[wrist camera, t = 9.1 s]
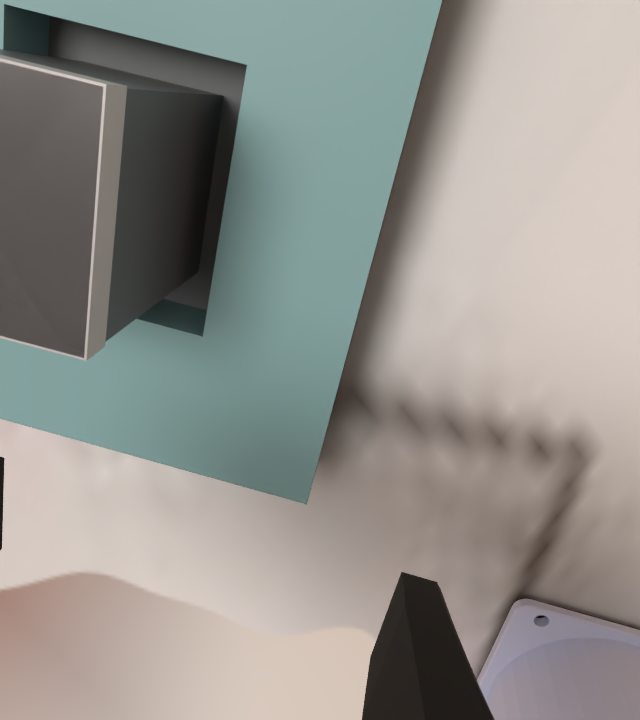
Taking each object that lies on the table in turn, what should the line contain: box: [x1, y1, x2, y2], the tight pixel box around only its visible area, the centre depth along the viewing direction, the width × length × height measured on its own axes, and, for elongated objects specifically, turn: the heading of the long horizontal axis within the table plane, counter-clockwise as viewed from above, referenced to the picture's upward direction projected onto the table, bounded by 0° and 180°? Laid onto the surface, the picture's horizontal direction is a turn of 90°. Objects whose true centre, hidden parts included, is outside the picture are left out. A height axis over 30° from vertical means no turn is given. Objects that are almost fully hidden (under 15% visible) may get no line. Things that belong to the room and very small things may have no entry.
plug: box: [0, 49, 224, 361], centre depth 14 cm, size 4×5×7 cm
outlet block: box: [0, 0, 442, 504], centre depth 17 cm, size 14×16×2 cm
